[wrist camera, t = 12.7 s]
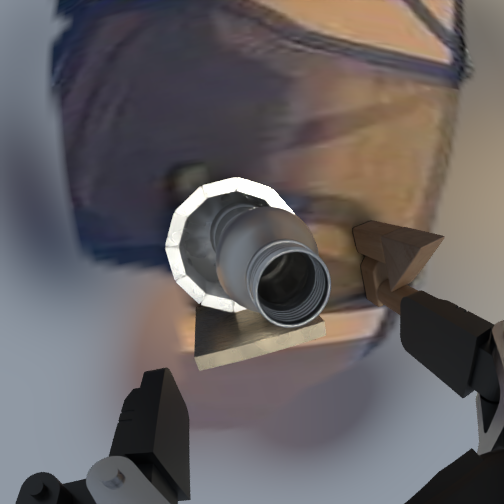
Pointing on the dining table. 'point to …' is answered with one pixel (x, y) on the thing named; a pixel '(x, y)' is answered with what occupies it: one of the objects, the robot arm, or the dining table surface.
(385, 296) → the wooden wedge with rod
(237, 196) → the ring
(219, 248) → the plastic bottle
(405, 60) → the dining table surface
